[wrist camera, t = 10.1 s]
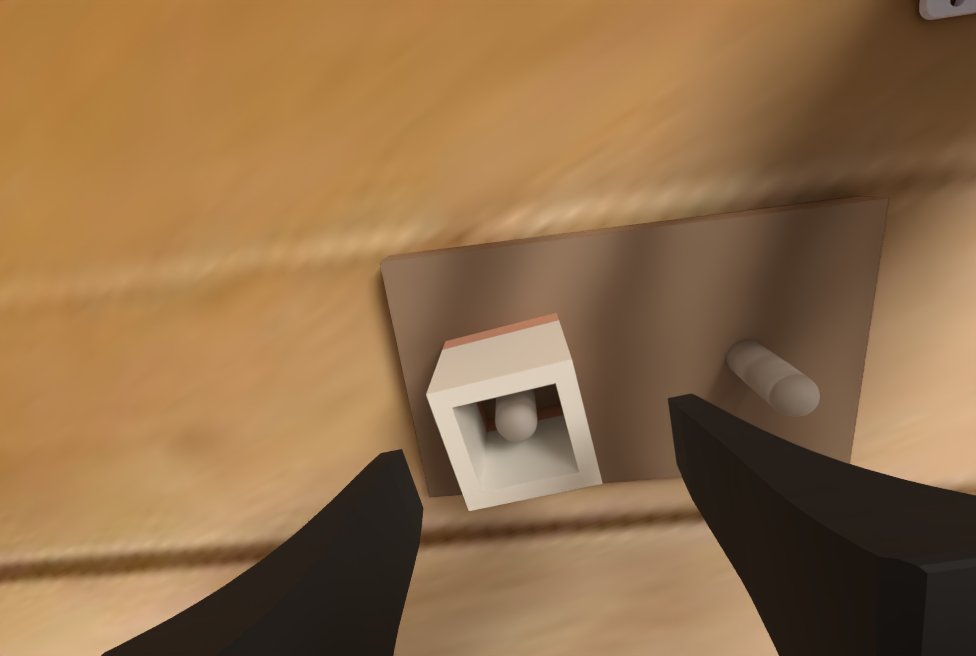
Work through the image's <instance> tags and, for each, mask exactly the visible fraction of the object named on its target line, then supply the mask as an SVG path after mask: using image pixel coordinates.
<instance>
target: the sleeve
mask: <svg viewBox="0 0 976 656" xmlns="http://www.w3.org/2000/svg"><path fill="white" fill-rule="evenodd" d="M554 383H556V386H557V390H558V394H559V398H560V401H561V404H558V405H553V406H549V407H545V408H540V409H536V411H537V427H536V430H535V432H534V433H533V435H532V436H531V437H530V438H528V439H527V440H524V441H521V442H512V441H509V440H507V439H505V438H504V437H502V436H501V435H500V433H499V432H498V430H497V428H496V424H495V419H492V420H487V417H486V414H485V411H484V408H483V405H482V402H481V401H482V400H487V399H491V398H495V397H499V396H504V395H508V394H512V393H516V392H521V391H525V390H529V389H533V388H538V387H542V386H546V385H550V384H554ZM426 396H427V399H428V401H429V404H430V407H431V409H432V412H433V415H434V418H435V420H436V423H437V426H438V428H439V431H440V434H441V437H442V439H443V442H444V445H445V448H446V450H447V453H448V456H449V458H450V461H451V464H452V467H453V469H454V472H455V475H456V478H457V480H458V483H459V486H460V488H461V491H462V494H463V497H464V499H465V502H466V505H467V507H468V510H469V511H472V510H477V509H482V508H487V507H492V506H497V505H502V504H507V503H512V502H516V501H521V500H526V499H531V498H536V497H541V496H546V495H551V494H556V493H561V492H565V491H570V490H575V489H580V488H585V487H590V486H595V485H600V484H603V483H602V479H601V475H600V471H599V467H598V463H597V459H596V455H595V451H594V447H593V443H592V439H591V435H590V431H589V426H588V422H587V418H586V414H585V410H584V406H583V402H582V398H581V394H580V390H579V386H578V382H577V378H576V374H575V370H574V366H573V362H572V358H571V355H570V352H569V349H568V346H567V343H566V340H565V337H564V334H563V331H562V328H561V325H560V322H559V319H558V316H557V313H554V314H550V315H546V316H542V317H538V318H534V319H530V320H527V321H523V322H519V323H515V324H511V325H507V326H503V327H499V328H495V329H491V330H488V331H484V332H480V333H476V334H472V335H468V336H464V337H460V338H456V339H453V340H449V341H445V344H444V346H443V349H442V352H441V355H440V358H439V360H438V363H437V366H436V369H435V371H434V374H433V377H432V380H431V382H430V385H429V388H428V391H427V393H426Z"/></svg>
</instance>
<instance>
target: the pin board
mask: <svg viewBox="0 0 976 656" xmlns="http://www.w3.org/2000/svg"><path fill="white" fill-rule="evenodd" d="M888 203H889V198H878V197H866V196H857V197H850V198H842V199H834V200H826V201H818V202H810V203H802V204H794V205H786V206H778V207H771V208H763V209H755V210H747V211H739V212H731V213H723V214H715V215H707V216H699V217H692V218H684V219H676V220H668V221H660V222H652V223H644V224H636V225H628V226H620V227H613V228H605V229H597V230H589V231H581V232H573V233H565V234H557V235H549V236H541V237H534V238H526V239H518V240H510V241H502V242H494V243H486V244H478V245H470V246H462V247H455V248H447V249H439V250H431V251H423V252H415V253H407V254H399V255H391V256H388V257H386V258H385V259H384V260H382V261H381V262H380V266H381V271H382V276H383V280H384V285H385V290H386V295H387V299H388V304H389V309H390V314H391V318H392V323H393V328H394V332H395V337H396V342H397V347H398V351H399V356H400V361H401V366H402V370H403V375H404V380H405V385H406V389H407V394H408V399H409V403H410V408H411V413H412V418H413V422H414V427H415V432H416V437H417V441H418V446H419V451H420V455H421V460H422V465H423V470H424V474H425V479H426V484H427V489H428V493H429V497H439V496H452V495H463V494H462V491H461V488H460V486H459V483H458V480H457V478H456V475H455V472H454V469H453V467H452V464H451V461H450V458H449V456H448V453H447V450H446V448H445V445H444V442H443V439H442V437H441V434H440V431H439V428H438V426H437V423H436V420H435V418H434V415H433V412H432V409H431V407H430V404H429V401H428V399H427V396H426V393H427V391H428V388H429V385H430V382H431V380H432V377H433V374H434V371H435V369H436V366H437V363H438V360H439V358H440V355H441V352H442V349H443V346H444V344H445V341H449V340H453V339H456V338H460V337H464V336H468V335H472V334H476V333H480V332H484V331H488V330H491V329H495V328H499V327H503V326H507V325H511V324H515V323H519V322H523V321H527V320H530V319H534V318H538V317H542V316H546V315H550V314H554V313H557V316H558V319H559V322H560V325H561V328H562V331H563V334H564V337H565V340H566V343H567V346H568V349H569V352H570V355H571V358H572V362H573V366H574V370H575V374H576V378H577V382H578V386H579V390H580V394H581V398H582V402H583V406H584V410H585V414H586V418H587V422H588V426H589V431H590V435H591V439H592V443H593V447H594V451H595V455H596V459H597V463H598V467H599V471H600V475H601V479H602V483H613V482H625V481H637V480H650V479H662V478H674V477H682V475H681V473H680V471H679V469H678V466H677V464H676V456H675V449H674V442H673V434H672V427H671V420H670V413H669V405H668V398H670V397H676V396H681V395H686V394H691V393H692V394H694V395H696V396H698V397H700V398H702V399H704V400H706V401H708V402H710V403H712V404H713V405H715V406H717V407H719V408H721V409H723V410H725V411H727V412H728V413H730V414H732V415H734V416H736V417H738V418H740V419H742V420H744V421H746V422H748V423H750V424H752V425H754V426H756V427H758V428H760V429H762V430H764V431H767V432H769V433H771V434H773V435H775V436H778V437H780V438H782V439H785V440H787V441H789V442H792V443H794V444H796V445H799V446H801V447H804V448H806V449H809V450H811V451H814V452H817V453H820V454H822V455H825V456H828V457H831V458H834V459H837V460H839V461H842V462H845V463H850V459H851V452H852V445H853V439H854V432H855V425H856V418H857V412H858V405H859V398H860V392H861V385H862V378H863V371H864V365H865V358H866V351H867V345H868V338H869V331H870V324H871V318H872V311H873V304H874V297H875V291H876V284H877V277H878V271H879V264H880V257H881V250H882V244H883V237H884V230H885V224H886V217H887V210H888ZM481 402H482V405H483V408H484V411H485V414H486V417H487V420H492V419H495V424H496V428H497V430H498V432H499V433H500V435H501V436H502V437H504V438H505V439H507V440H509V441H512V442H521V441H524V440H527V439H528V438H530V437H531V436H532V435H533V433H534V432H535V430H536V427H537V411H536V409H540V408H545V407H549V406H553V405H558V404H561V401H560V398H559V394H558V390H557V386H556V383H554V384H550V385H546V386H542V387H538V388H533V389H529V390H525V391H521V392H516V393H512V394H508V395H504V396H499V397H495V398H491V399H487V400H482V401H481Z"/></svg>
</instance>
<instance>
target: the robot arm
mask: <svg viewBox="0 0 976 656" xmlns="http://www.w3.org/2000/svg"><path fill="white" fill-rule="evenodd" d="M919 12H920V14H921V16H922V17H923V18H924V19H926V20H935V19H941V18H947V17H954V16H960V15H967V14H973V13H976V0H956V2H955V4H954V6H952V5H951V4H950V0H920V4H919ZM668 405H669V413H670V420H671V427H672V434H673V442H674V449H675V456H676V464H677V466H678V469H679V471H680V473H681V475H682V478H683V480H684V482H685V485H686V487H687V489H688V491H689V493H690V495H691V498H692V500H693V501H694V503H695V505H696V506H697V508H698V510H699V511H700V513H701V515H702V516H703V518H704V520H705V521H706V523H707V525H708V526H709V528H710V529H711V531H712V533H713V534H714V536H715V538H716V539H717V541H718V543H719V544H720V546H721V547H722V549H723V551H724V552H725V554H726V556H727V557H728V559H729V561H730V562H731V564H732V565H733V567H734V569H735V570H736V572H737V574H738V575H739V577H740V579H741V580H742V582H743V584H744V586H745V588H746V589H747V591H748V593H749V595H750V597H751V599H752V601H753V603H754V605H755V607H756V609H757V611H758V613H759V615H760V617H761V619H762V621H763V623H764V625H765V627H766V629H767V631H768V633H769V635H770V637H771V640H772V642H773V644H774V646H775V648H776V650H777V652H778V654H779V656H976V495H971V494H966V493H961V492H957V491H952V490H947V489H942V488H938V487H933V486H929V485H925V484H920V483H916V482H912V481H908V480H904V479H900V478H896V477H893V476H889V475H886V474H882V473H879V472H875V471H871V470H868V469H864V468H861V467H858V466H855V465H852V464H848V463H845V462H842V461H839V460H837V459H834V458H831V457H828V456H825V455H822V454H820V453H817V452H814V451H811V450H809V449H806V448H804V447H801V446H799V445H796V444H794V443H792V442H789V441H787V440H785V439H782V438H780V437H778V436H775V435H773V434H771V433H769V432H767V431H764V430H762V429H760V428H758V427H756V426H754V425H752V424H750V423H748V422H746V421H744V420H742V419H740V418H738V417H736V416H734V415H732V414H730V413H728V412H727V411H725V410H723V409H721V408H719V407H717V406H715V405H713V404H712V403H710V402H708V401H706V400H704V399H702V398H700V397H698V396H696V395H694V394H692V393H691V394H686V395H681V396H676V397H670V398H668ZM422 517H423V506H422V503H421V500H420V498H419V495H418V492H417V489H416V487H415V484H414V481H413V478H412V476H411V473H410V470H409V467H408V464H407V462H406V459H405V456H404V453H403V451H402V449H400V450H395V451H389V452H384V453H381V454H380V455H378V456H377V457H376V458H375V459H374V460H373V461H372V462H370V463H369V464H368V465H367V466H366V467H365V468H364V469H363V470H362V471H361V472H360V473H359V474H358V475H357V476H356V477H355V478H354V479H353V480H352V481H351V482H350V483H349V484H348V485H347V486H346V487H345V488H344V489H343V490H342V491H341V492H340V493H339V494H338V495H337V496H336V497H335V498H334V499H333V500H332V501H331V502H330V503H329V504H327V505H326V506H325V507H324V508H323V509H322V510H321V511H320V512H319V513H318V514H317V515H315V516H314V517H313V518H312V519H311V520H310V521H309V522H308V523H307V524H306V525H305V526H303V527H302V528H301V529H300V530H299V531H298V532H297V533H295V534H294V535H293V536H292V537H291V538H289V539H288V540H287V541H286V542H284V543H283V544H282V545H281V546H279V547H278V548H277V549H275V550H274V551H273V552H272V553H270V554H269V555H268V556H266V557H265V558H264V559H262V560H261V561H260V562H258V563H257V564H255V565H254V566H252V567H251V568H250V569H248V570H247V571H245V572H244V573H242V574H241V575H239V576H238V577H236V578H235V579H234V580H232V581H231V582H229V583H228V584H226V585H225V586H223V587H222V588H220V589H219V590H217V591H216V592H214V593H212V594H211V595H209V596H207V597H206V598H204V599H203V600H201V601H199V602H198V603H196V604H194V605H193V606H191V607H189V608H188V609H186V610H184V611H182V612H181V613H179V614H177V615H176V616H174V617H172V618H170V619H168V620H167V621H165V622H163V623H161V624H159V625H157V626H155V627H153V628H152V629H150V630H148V631H146V632H144V633H142V634H140V635H138V636H136V637H134V638H132V639H130V640H128V641H127V642H125V643H123V644H121V645H119V646H117V647H115V648H113V649H111V650H109V651H107V652H105V653H103V654H102V655H101V656H393V655H394V648H395V643H396V638H397V633H398V628H399V624H400V620H401V616H402V612H403V608H404V604H405V600H406V596H407V592H408V589H409V585H410V581H411V577H412V573H413V569H414V565H415V560H416V556H417V552H418V548H419V544H420V536H421V528H422Z"/></svg>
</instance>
